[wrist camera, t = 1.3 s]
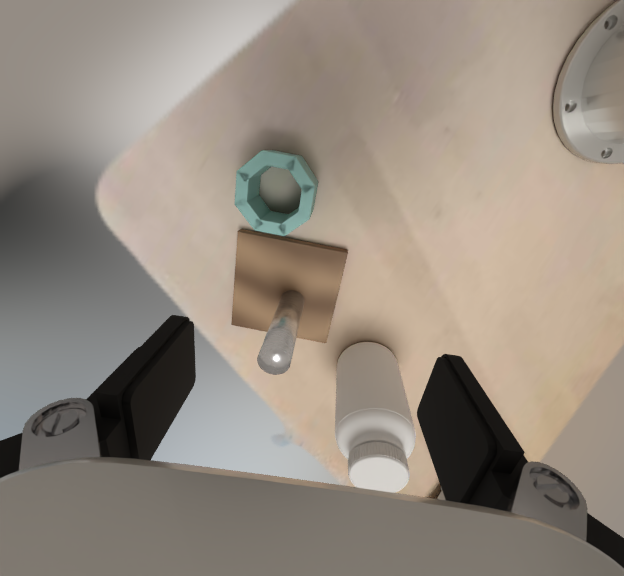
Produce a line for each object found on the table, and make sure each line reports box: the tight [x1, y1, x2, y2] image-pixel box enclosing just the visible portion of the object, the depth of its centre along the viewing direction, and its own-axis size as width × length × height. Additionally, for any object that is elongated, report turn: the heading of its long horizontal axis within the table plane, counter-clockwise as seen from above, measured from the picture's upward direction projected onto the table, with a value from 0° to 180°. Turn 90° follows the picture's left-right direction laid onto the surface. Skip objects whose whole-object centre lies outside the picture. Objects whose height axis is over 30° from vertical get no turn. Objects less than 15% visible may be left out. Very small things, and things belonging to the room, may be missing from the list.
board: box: [232, 229, 348, 343], centre depth 35 cm, size 12×12×1 cm
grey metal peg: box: [257, 290, 304, 375], centre depth 30 cm, size 3×3×11 cm
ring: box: [235, 150, 318, 236], centre depth 29 cm, size 7×7×4 cm
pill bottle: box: [335, 342, 416, 493], centre depth 33 cm, size 8×8×15 cm
